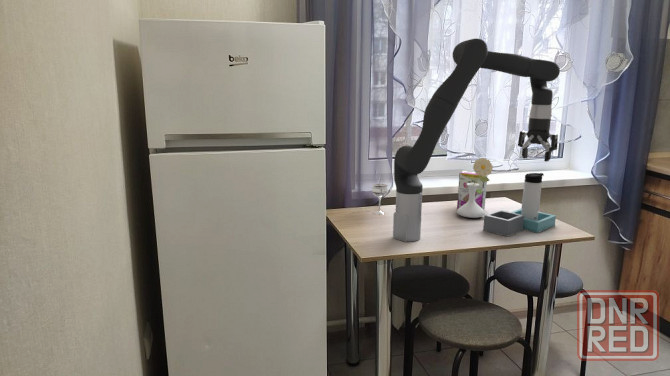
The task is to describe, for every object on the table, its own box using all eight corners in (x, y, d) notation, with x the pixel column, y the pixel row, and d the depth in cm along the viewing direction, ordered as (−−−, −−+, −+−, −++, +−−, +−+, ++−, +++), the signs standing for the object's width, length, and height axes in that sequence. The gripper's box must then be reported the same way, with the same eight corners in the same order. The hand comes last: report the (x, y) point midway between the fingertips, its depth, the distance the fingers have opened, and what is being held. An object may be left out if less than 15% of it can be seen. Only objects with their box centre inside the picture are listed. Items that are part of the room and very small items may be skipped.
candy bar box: (456, 208, 207) (458, 172, 203) (460, 206, 211) (462, 170, 207) (481, 212, 201) (484, 175, 197) (485, 209, 205) (487, 173, 202)
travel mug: (539, 225, 180) (545, 175, 176) (521, 224, 181) (527, 174, 177) (536, 221, 186) (541, 171, 182) (518, 220, 187) (523, 171, 183)
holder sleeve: (507, 236, 170) (508, 221, 169) (483, 230, 178) (484, 214, 176) (522, 230, 177) (524, 215, 176) (498, 224, 185) (500, 209, 183)
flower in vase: (455, 218, 192) (458, 158, 187) (458, 211, 203) (461, 154, 197) (488, 221, 188) (493, 160, 182) (489, 214, 198) (494, 156, 193)
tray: (537, 232, 175) (538, 222, 174) (503, 224, 185) (504, 214, 184) (554, 225, 183) (555, 215, 182) (521, 217, 194) (522, 208, 193)
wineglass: (388, 215, 197) (388, 187, 194) (372, 214, 197) (372, 187, 195) (386, 210, 204) (387, 183, 201) (371, 210, 204) (371, 183, 201)
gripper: (517, 116, 177) (513, 158, 181) (554, 118, 167) (549, 163, 170) (526, 115, 182) (523, 156, 186) (563, 117, 171) (558, 161, 175)
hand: (535, 159), depth 178 cm, fingers open, 8 cm apart
